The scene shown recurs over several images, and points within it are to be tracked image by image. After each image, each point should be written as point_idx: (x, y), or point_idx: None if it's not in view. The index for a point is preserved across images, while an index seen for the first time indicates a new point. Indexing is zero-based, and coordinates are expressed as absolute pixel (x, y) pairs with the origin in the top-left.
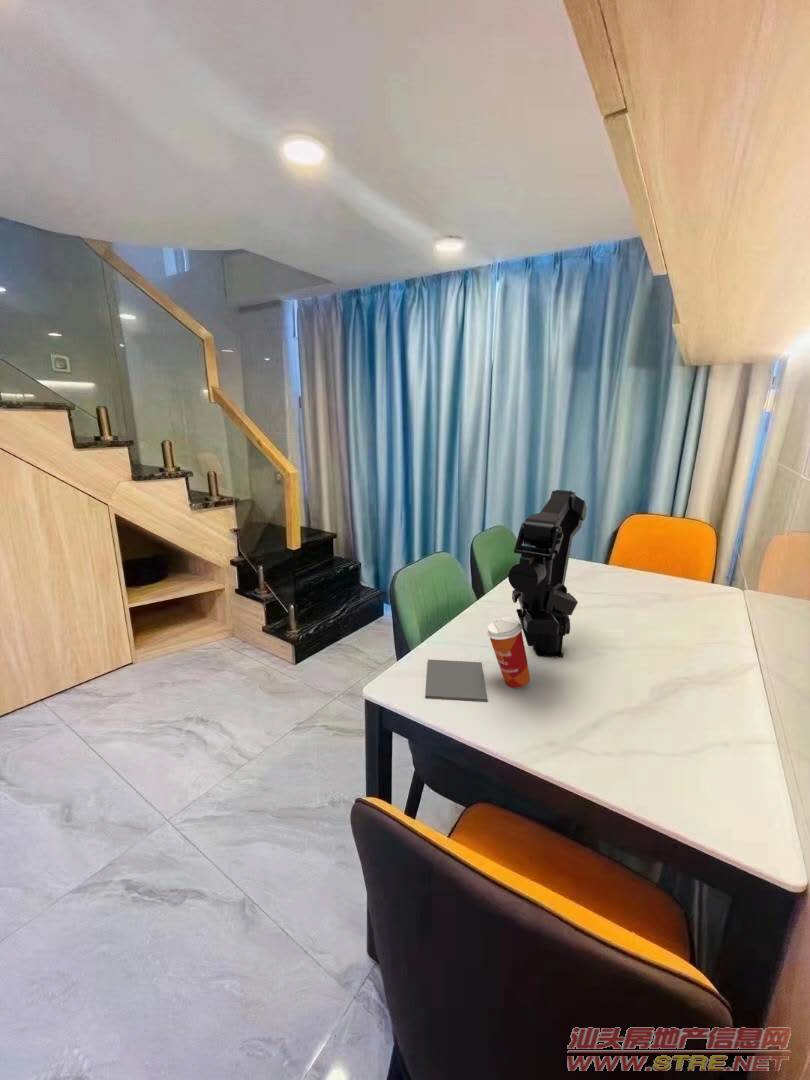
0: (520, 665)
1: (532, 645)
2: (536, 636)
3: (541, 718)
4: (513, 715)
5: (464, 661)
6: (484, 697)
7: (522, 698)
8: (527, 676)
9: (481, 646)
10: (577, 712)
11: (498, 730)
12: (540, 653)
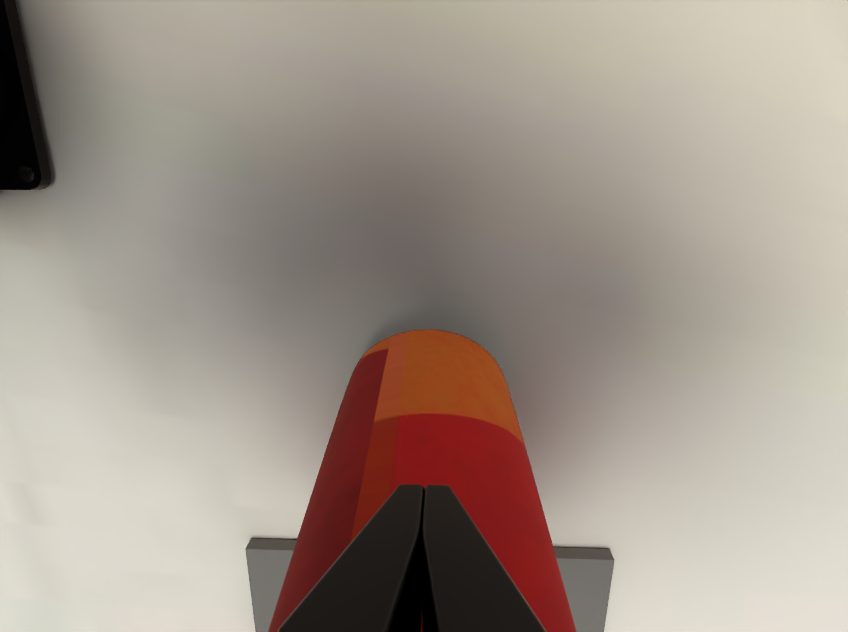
0: (535, 495)
1: (452, 500)
2: (531, 621)
3: (768, 314)
4: (727, 448)
5: (257, 627)
6: (598, 571)
7: (577, 379)
8: (487, 374)
9: (36, 516)
10: (732, 72)
11: (834, 529)
12: (20, 161)
